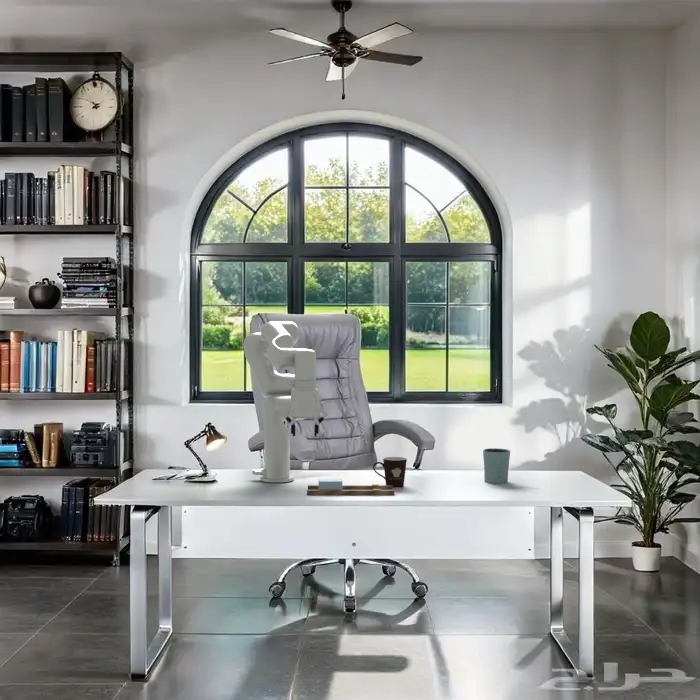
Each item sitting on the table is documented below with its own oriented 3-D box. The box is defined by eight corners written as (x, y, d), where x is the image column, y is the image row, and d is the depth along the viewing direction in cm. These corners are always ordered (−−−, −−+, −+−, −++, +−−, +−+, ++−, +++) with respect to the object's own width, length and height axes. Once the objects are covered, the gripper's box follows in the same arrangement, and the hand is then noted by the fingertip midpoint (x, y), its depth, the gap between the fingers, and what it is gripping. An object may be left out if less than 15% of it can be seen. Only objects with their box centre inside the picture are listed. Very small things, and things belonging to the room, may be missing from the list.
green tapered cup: (500, 479, 344) (500, 447, 344) (515, 483, 335) (515, 451, 335) (477, 480, 340) (477, 449, 340) (492, 485, 331) (492, 452, 331)
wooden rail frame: (306, 494, 310) (307, 489, 310) (307, 489, 321) (307, 484, 321) (394, 495, 311) (394, 489, 311) (392, 489, 321) (392, 484, 321)
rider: (319, 494, 312) (319, 481, 312) (318, 491, 318) (318, 478, 318) (342, 494, 313) (342, 481, 313) (341, 491, 319) (341, 478, 319)
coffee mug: (409, 484, 331) (409, 457, 331) (403, 488, 323) (403, 460, 323) (379, 482, 335) (379, 455, 335) (371, 486, 327) (372, 459, 327)
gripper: (279, 385, 310) (279, 437, 311) (330, 385, 311) (329, 437, 311) (280, 384, 318) (280, 434, 318) (330, 384, 318) (329, 434, 319)
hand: (304, 435), depth 315 cm, fingers open, 6 cm apart
